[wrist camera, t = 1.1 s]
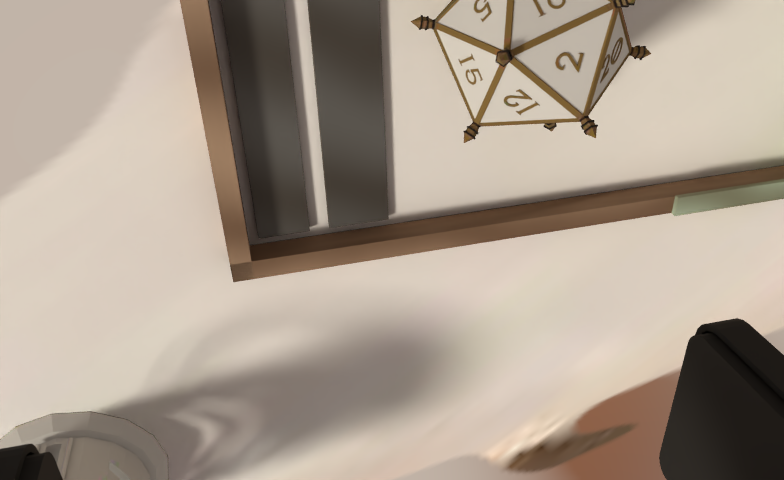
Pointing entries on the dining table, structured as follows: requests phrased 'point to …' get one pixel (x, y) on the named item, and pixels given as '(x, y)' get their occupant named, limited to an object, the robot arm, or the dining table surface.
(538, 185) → the dining table surface
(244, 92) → the shallow open box
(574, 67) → the game die
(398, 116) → the dining table surface
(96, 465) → the french press
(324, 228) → the dining table surface
